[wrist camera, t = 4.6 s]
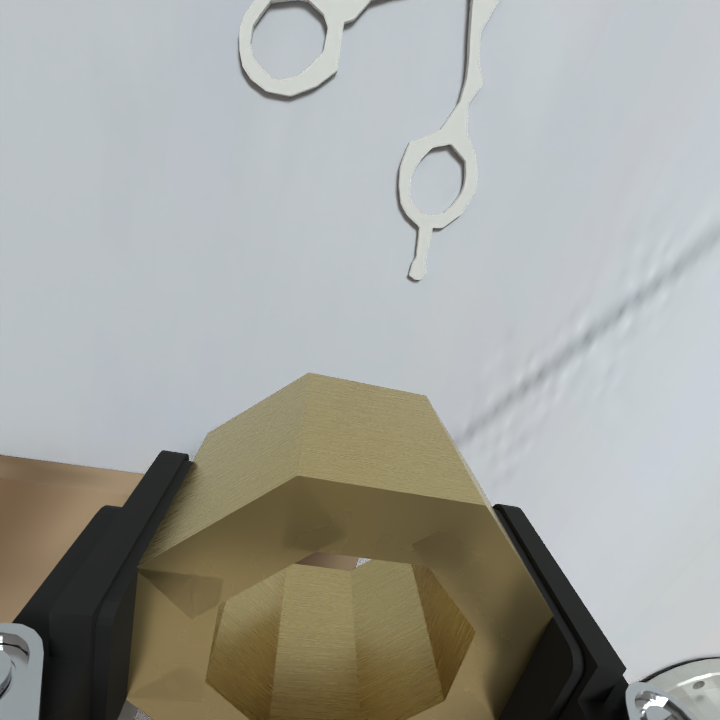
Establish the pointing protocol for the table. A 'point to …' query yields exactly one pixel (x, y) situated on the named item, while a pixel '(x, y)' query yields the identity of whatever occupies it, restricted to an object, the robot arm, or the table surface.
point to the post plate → (64, 525)
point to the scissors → (342, 6)
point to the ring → (331, 571)
